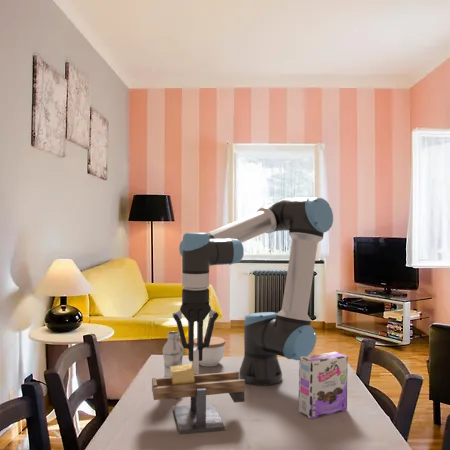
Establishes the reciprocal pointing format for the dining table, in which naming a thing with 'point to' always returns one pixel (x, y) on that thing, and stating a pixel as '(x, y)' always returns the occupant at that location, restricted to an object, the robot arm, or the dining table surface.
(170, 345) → the plastic bottle
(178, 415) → the pivot stand
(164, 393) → the beam
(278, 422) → the dining table surface
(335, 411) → the candy box
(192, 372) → the block
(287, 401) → the dining table surface
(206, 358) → the lidded bowl
